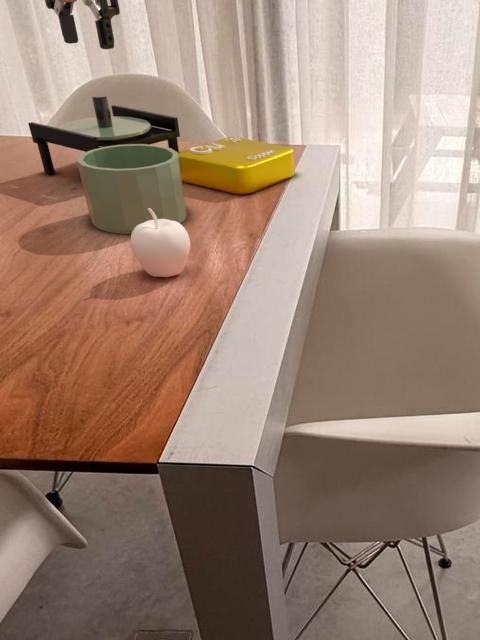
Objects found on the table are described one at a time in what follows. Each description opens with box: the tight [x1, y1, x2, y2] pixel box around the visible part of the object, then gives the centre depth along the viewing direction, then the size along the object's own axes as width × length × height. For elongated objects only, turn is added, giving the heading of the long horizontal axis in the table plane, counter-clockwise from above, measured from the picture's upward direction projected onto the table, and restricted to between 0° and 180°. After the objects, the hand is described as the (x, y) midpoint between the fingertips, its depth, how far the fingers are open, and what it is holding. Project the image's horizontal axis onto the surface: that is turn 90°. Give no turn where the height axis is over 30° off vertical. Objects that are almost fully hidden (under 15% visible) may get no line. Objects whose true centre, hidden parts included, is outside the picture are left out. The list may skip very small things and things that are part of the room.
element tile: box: [178, 136, 295, 195], centre depth 116 cm, size 15×15×5 cm
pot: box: [76, 144, 188, 235], centre depth 99 cm, size 14×14×8 cm
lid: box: [58, 94, 152, 141], centre depth 114 cm, size 15×15×6 cm
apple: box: [130, 208, 191, 278], centre depth 84 cm, size 7×7×8 cm
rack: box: [27, 104, 181, 176], centre depth 117 cm, size 18×16×8 cm
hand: (89, 45), depth 108 cm, fingers open, 8 cm apart
